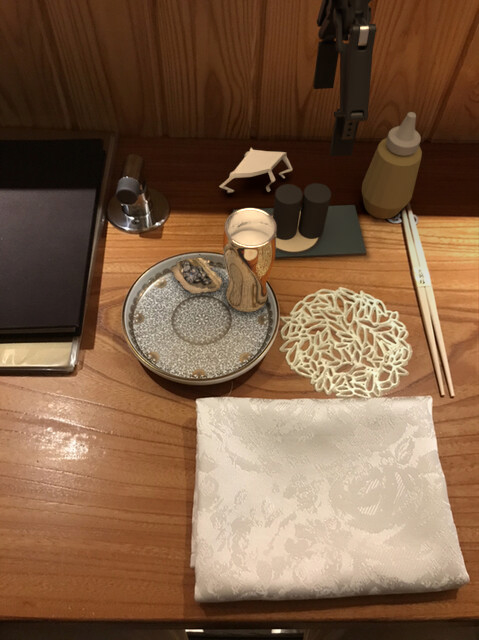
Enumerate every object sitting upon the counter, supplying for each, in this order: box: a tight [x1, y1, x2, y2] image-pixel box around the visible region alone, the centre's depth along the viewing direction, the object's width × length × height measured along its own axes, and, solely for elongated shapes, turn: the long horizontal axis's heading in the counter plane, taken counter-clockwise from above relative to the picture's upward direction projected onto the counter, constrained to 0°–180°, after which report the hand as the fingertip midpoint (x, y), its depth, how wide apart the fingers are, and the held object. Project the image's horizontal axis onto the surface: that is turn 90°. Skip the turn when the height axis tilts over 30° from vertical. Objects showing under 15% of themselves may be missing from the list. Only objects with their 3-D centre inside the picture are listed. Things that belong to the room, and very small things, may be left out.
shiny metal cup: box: [222, 207, 277, 313], centre depth 76 cm, size 7×7×15 cm
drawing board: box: [232, 204, 367, 260], centre depth 89 cm, size 20×10×1 cm, turn 94°
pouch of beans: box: [170, 257, 223, 295], centre depth 84 cm, size 7×8×2 cm
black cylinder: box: [298, 182, 332, 239], centre depth 85 cm, size 4×4×8 cm
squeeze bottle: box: [360, 111, 423, 220], centre depth 85 cm, size 8×8×18 cm
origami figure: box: [219, 147, 293, 194], centre depth 93 cm, size 12×8×5 cm
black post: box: [273, 183, 304, 240], centre depth 85 cm, size 4×4×8 cm
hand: (331, 119), depth 75 cm, fingers open, 13 cm apart
